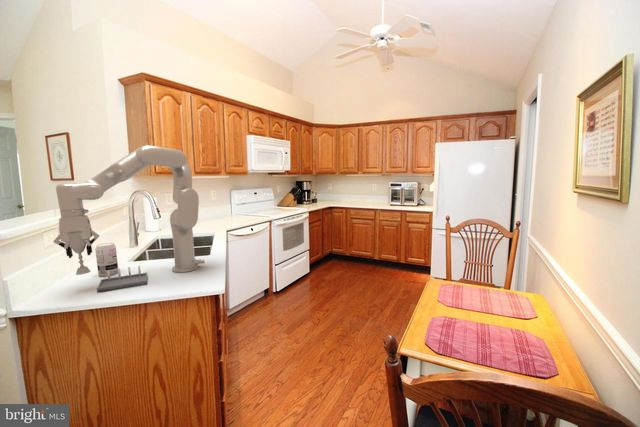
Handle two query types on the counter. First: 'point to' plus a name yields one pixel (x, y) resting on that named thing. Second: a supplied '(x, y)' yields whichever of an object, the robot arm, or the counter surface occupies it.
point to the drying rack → (122, 281)
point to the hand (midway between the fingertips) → (80, 255)
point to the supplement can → (106, 259)
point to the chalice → (78, 250)
